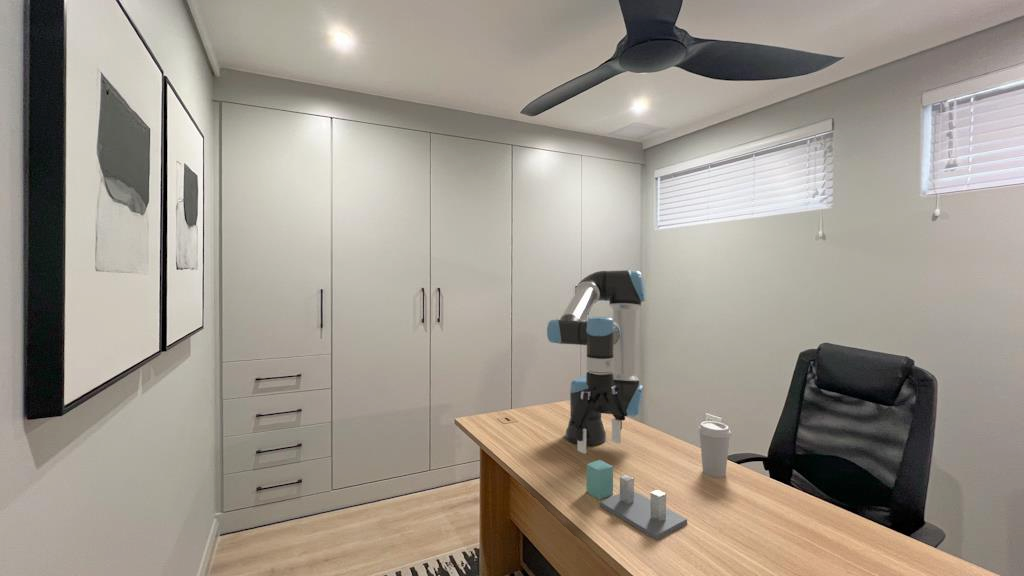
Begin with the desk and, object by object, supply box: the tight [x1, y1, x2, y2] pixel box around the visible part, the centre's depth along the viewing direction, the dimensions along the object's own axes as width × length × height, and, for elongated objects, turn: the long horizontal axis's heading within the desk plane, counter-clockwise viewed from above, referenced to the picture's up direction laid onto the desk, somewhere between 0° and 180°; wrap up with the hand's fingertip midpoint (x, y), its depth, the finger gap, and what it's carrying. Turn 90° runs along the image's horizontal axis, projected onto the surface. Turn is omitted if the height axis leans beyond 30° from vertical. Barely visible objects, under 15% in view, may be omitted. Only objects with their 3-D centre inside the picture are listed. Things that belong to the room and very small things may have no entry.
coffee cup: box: [697, 420, 732, 478], centre depth 133 cm, size 10×10×15 cm
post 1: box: [619, 474, 635, 505], centre depth 114 cm, size 3×3×6 cm
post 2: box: [650, 489, 667, 523], centre depth 105 cm, size 3×3×6 cm
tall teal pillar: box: [586, 459, 614, 500], centre depth 121 cm, size 5×5×8 cm
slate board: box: [599, 491, 688, 541], centre depth 110 cm, size 18×12×1 cm, turn 34°
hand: (599, 446), depth 120 cm, fingers open, 13 cm apart
